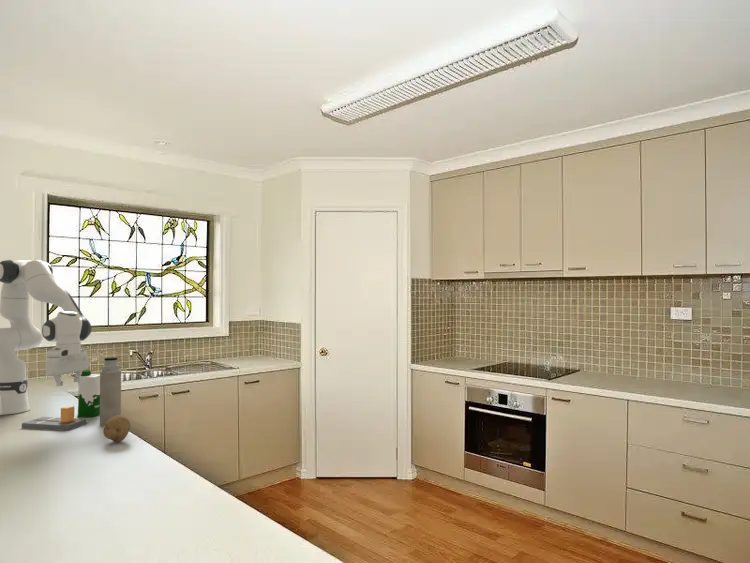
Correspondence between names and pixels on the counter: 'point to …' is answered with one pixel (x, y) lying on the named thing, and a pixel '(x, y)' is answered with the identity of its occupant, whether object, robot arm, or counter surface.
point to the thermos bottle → (110, 390)
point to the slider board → (53, 423)
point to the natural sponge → (117, 428)
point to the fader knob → (67, 414)
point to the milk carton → (89, 394)
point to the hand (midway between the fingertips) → (68, 383)
